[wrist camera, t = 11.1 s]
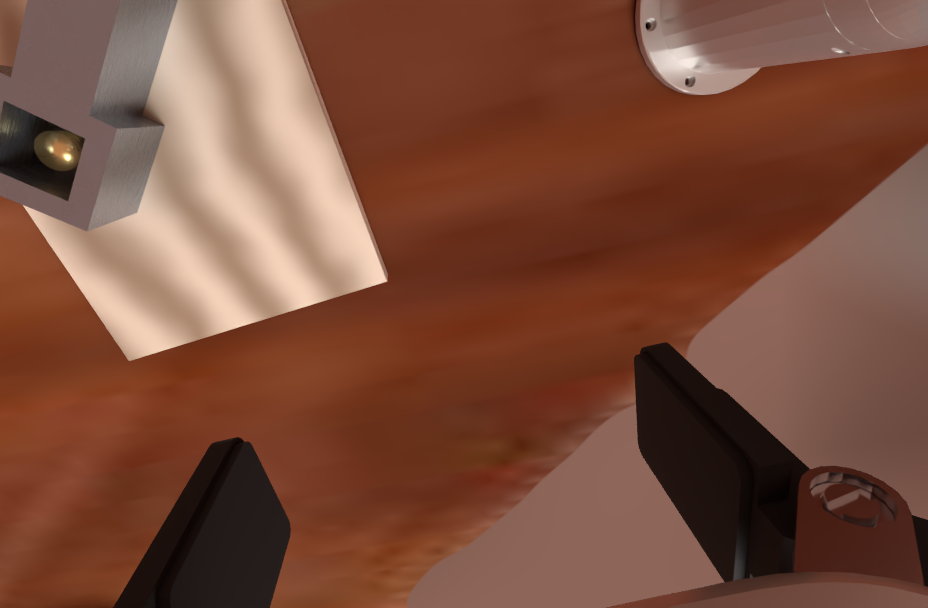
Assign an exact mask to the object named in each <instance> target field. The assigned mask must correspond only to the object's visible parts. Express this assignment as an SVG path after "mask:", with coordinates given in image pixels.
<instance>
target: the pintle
mask: <svg viewBox="0 0 928 608" xmlns="http://www.w3.org/2000/svg"><path fill="white" fill-rule="evenodd" d="M84 141H85V138H83V137H81V136H78V135H76V134H74V133H72V132H70V131H68V130H60V131H46V132H42V133H40V134H39V135H38V136H37V137H36V139H35V141H34V149H35V153H36V155H37V157H38V158H39V159H40V161H41V162H42V163H43V164H45V165H46V166H47V167H49V168H51V169H53V170H57V171H68V170H73V169H77V167H78V163H79V160H80V156H81V152H82V149H83V145H84Z"/></svg>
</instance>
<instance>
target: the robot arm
mask: <svg viewBox="0 0 928 608" xmlns="http://www.w3.org/2000/svg"><path fill="white" fill-rule="evenodd" d="M646 23H647V24H648V29H646ZM635 24H636V36H637V40H638V44H639V48H640V51H641V54H642V56H643V58H644V60H645V63H646V65H647V66H648V67H649V69H650V70H651V72H652V73H653V74H654V76H655V77H656V78H658V79H659V80H660V81H661V82H662V83H663V84H664V85H666V86H668V87H669V88H671V89H673V90H675V91H677V92H681V93H685V94H689V95H707V94H716V93H720V92H723V91H726V90H729V89H732V88H733V87H735V86H737V85H739V84H741V83H743V82H745V81H746V80H747V79H748V78H750V77H751V76H752V75H754V74H755V73H756V72H757V71H758V70H759V69H760V68H761V67H766V66H774V65H782V64H790V63H798V62H805V61H813V60H821V59H829V58H837V57H845V56H853V55H861V54H869V53H877V52H885V51H891V50H899V49H907V48H914V47H920V46H925V45H928V0H637V1H636V11H635ZM685 80H686V84H685ZM634 367H635V389H636V412H637V432H638V445H639V449H640V452H641V454H642V456H643V458H644V459H645V461H646V462H647V464H648V465H649V467H650V469H651V470H652V472H653V473H654V475H655V476H656V478H657V479H658V481H659V482H660V484H661V485H662V487H663V488H664V490H665V491H666V493H667V495H668V496H669V498H670V499H671V501H672V502H673V503H674V505H675V507H676V508H677V510H678V511H679V513H680V514H681V516H682V518H683V519H684V521H685V522H686V524H687V525H688V527H689V528H690V530H691V531H692V533H693V534H694V536H695V537H696V539H697V541H698V542H699V543H700V545H701V547H702V548H703V550H704V551H705V553H706V554H707V556H708V557H709V559H710V560H711V562H712V564H713V565H714V567H715V568H716V570H717V571H718V573H719V574H720V576H721V577H722V579H723V580H724V581H725V583H720V584H715V585H710V586H705V587H700V588H695V589H691V590H685V591H681V592H676V593H671V594H666V595H661V596H657V597H652V598H647V599H643V600H639V601H634V602H629V603H625V604H621V605H616V606H611V607H607V608H928V520H926V519H923V518H920V517H916V516H913V515H912V514H911V511H910V509H909V506H908V504H907V502H906V501H905V500H904V499H903V497H902V496H901V495H900V494H899V493H898V492H897V491H896V490H895V489H893V488H892V487H890V486H889V485H888V484H886V483H885V482H884V481H882V480H880V479H878V478H876V477H874V476H872V475H870V474H868V473H865V472H862V471H858V470H855V469H852V468H847V467H840V466H820V467H816V468H813V469H809V468H808V467H807V466H806V465H805V464H804V463H802V461H801V460H799V459H798V458H797V457H796V456H795V455H794V454H793V453H792V452H791V451H789V449H787V448H786V447H785V446H784V445H783V444H782V443H781V442H780V441H779V440H778V439H777V438H775V437H774V436H773V435H772V434H771V433H770V432H769V431H768V430H767V429H766V428H765V427H763V426H762V425H761V424H760V423H759V422H758V421H757V420H756V419H755V418H754V417H753V416H752V415H750V414H749V413H748V412H747V411H746V410H745V409H744V408H743V407H742V406H741V405H739V404H738V403H737V402H736V401H735V400H734V399H733V398H732V397H730V395H729V394H728V393H726V392H725V391H723V390H722V389H718V388H716V387H715V386H714V385H712V384H711V383H710V382H709V381H708V380H707V379H706V378H705V377H704V376H703V375H702V374H701V373H700V372H698V370H696V369H695V368H694V367H693V366H692V365H691V364H690V363H689V362H688V361H687V360H686V359H685V358H684V357H683V356H682V355H680V354H679V353H678V352H677V351H676V350H675V349H674V348H673V347H672V346H671V345H670V344H668V343H660V344H656V345H651V346H647V347H643V348H642V349H641V351H640V354H639V355H636V356H635V358H634ZM290 531H291V529H290V522H289V519H288V517H287V515H286V513H285V511H284V509H283V507H282V505H281V503H280V501H279V499H278V497H277V495H276V493H275V491H274V489H273V487H272V485H271V483H270V481H269V479H268V477H267V475H266V472H265V470H264V468H263V466H262V464H261V462H260V460H259V458H258V456H257V454H256V452H255V450H254V448H253V446H252V445H251V443H250V442H244V441H243V440H242V439H241V438H238V437H236V438H232V439H227V440H223V441H218V442H215V443H212V444H211V445H210V447H209V448H208V450H207V452H206V453H205V455H204V457H203V458H202V460H201V462H200V463H199V465H198V467H197V468H196V470H195V472H194V473H193V475H192V477H191V478H190V480H189V482H188V483H187V485H186V487H185V488H184V490H183V492H182V493H181V495H180V497H179V498H178V500H177V502H176V503H175V505H174V507H173V508H172V510H171V512H170V514H169V515H168V517H167V519H166V520H165V522H164V524H163V525H162V527H161V529H160V530H159V532H158V534H157V535H156V537H155V539H154V540H153V542H152V544H151V545H150V547H149V549H148V550H147V552H146V554H145V555H144V557H143V559H142V560H141V562H140V564H139V565H138V567H137V569H136V570H135V572H134V574H133V575H132V577H131V579H130V581H129V582H128V584H127V586H126V587H125V589H124V591H123V592H122V594H121V596H120V597H119V599H118V601H117V602H116V604H115V606H114V607H113V608H270V605H271V601H272V598H273V594H274V591H275V587H276V584H277V580H278V577H279V573H280V570H281V566H282V563H283V559H284V556H285V552H286V549H287V545H288V542H289V538H290Z"/></svg>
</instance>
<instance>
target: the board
mask: <svg viewBox="0 0 928 608" xmlns="http://www.w3.org/2000/svg"><path fill="white" fill-rule="evenodd" d="M26 4H27V0H0V65H3V66H12V67H13V65H14V61H15V56H16V51H17V47H18V42H19V37H20V33H21V28H22V23H23V18H24V14H25V9H26ZM143 115H144V116H146V117H148V118H150V119H152V120H154V121H156V122H158V123H160V124H162V125H164V126H165V128H164V131H163V134H162V137H161V141H160V144H159V147H158V150H157V153H156V156H155V159H154V162H153V165H152V168H151V172H150V175H149V178H148V181H147V184H146V187H145V190H144V193H143V196H142V200H141V203H140V206H139V209H138V212H137V213H135V214H132V215H130V216H127V217H125V218H122V219H119V220H117V221H114V222H111V223H109V224H106V225H103V226H101V227H98V228H95V229H93V230H90V231H85V230H82V229H80V228H77V227H75V226H72V225H70V224H68V223H65V222H63V221H60V220H58V219H56V218H53V217H51V216H48V215H46V214H43V213H41V212H39V211H36V210H34V209H31V208H29V207H27V206H24V205H23V206H24V207H25V209H26V210H27V212H28V213H29V215H30V216H31V218H32V219H33V221H34V222H35V224H36V225H37V227H38V228H39V229H40V231H41V232H42V234H43V235H44V237H45V238H46V240H47V241H48V243H49V244H50V246H51V247H52V249H53V250H54V251H55V253H56V254H57V256H58V257H59V259H60V260H61V262H62V263H63V265H64V266H65V268H66V269H67V271H68V272H69V273H70V275H71V276H72V278H73V279H74V281H75V282H76V284H77V285H78V287H79V288H80V290H81V291H82V293H83V294H84V295H85V297H86V298H87V300H88V301H89V303H90V304H91V306H92V307H93V309H94V310H95V312H96V313H97V315H98V316H99V317H100V319H101V320H102V322H103V323H104V325H105V326H106V328H107V329H108V331H109V332H110V334H111V335H112V337H113V338H114V339H115V341H116V342H117V344H118V345H119V347H120V348H121V350H122V351H123V353H124V354H125V356H126V357H127V359H128V360H129V361H131V360H134V359H137V358H140V357H144V356H147V355H150V354H153V353H157V352H160V351H163V350H166V349H169V348H173V347H176V346H179V345H182V344H186V343H189V342H192V341H195V340H199V339H202V338H205V337H208V336H212V335H215V334H218V333H221V332H225V331H228V330H231V329H234V328H238V327H241V326H244V325H247V324H250V323H254V322H257V321H260V320H263V319H267V318H270V317H273V316H276V315H280V314H283V313H286V312H289V311H293V310H296V309H299V308H302V307H306V306H309V305H312V304H315V303H318V302H322V301H325V300H328V299H331V298H335V297H338V296H341V295H344V294H348V293H351V292H354V291H357V290H361V289H364V288H367V287H370V286H374V285H377V284H380V283H383V282H386V281H387V275H388V273H387V271H386V268H385V265H384V263H383V260H382V257H381V255H380V252H379V249H378V247H377V244H376V241H375V239H374V236H373V233H372V231H371V228H370V225H369V223H368V220H367V217H366V214H365V212H364V209H363V206H362V204H361V201H360V198H359V196H358V193H357V190H356V188H355V185H354V182H353V180H352V177H351V174H350V172H349V169H348V166H347V164H346V161H345V158H344V156H343V153H342V150H341V147H340V145H339V142H338V139H337V137H336V134H335V131H334V129H333V126H332V123H331V121H330V118H329V115H328V113H327V110H326V107H325V105H324V102H323V99H322V97H321V94H320V91H319V88H318V86H317V83H316V80H315V78H314V75H313V72H312V70H311V67H310V64H309V62H308V59H307V56H306V54H305V51H304V48H303V46H302V43H301V40H300V38H299V35H298V32H297V30H296V27H295V24H294V21H293V19H292V16H291V13H290V11H289V8H288V5H287V3H286V0H178V1H177V4H176V8H175V11H174V14H173V18H172V21H171V24H170V27H169V31H168V34H167V37H166V40H165V44H164V47H163V50H162V54H161V57H160V60H159V63H158V67H157V70H156V73H155V77H154V80H153V83H152V86H151V90H150V93H149V96H148V99H147V103H146V106H145V109H144V113H143Z"/></svg>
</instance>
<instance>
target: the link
mask: <svg viewBox="0 0 928 608" xmlns="http://www.w3.org/2000/svg"><path fill="white" fill-rule="evenodd" d="M177 1H178V0H27V4H26V9H25V14H24V18H23V23H22V28H21V33H20V37H19V42H18V47H17V51H16V56H15V61H14V65H13V67H12V66H3V65H0V196H2V197H5V198H7V199H10V200H12V201H15V202H17V203H19V204H22V205H24V206H27V207H29V208H31V209H34V210H36V211H39V212H41V213H43V214H46V215H48V216H51V217H53V218H56V219H58V220H60V221H63V222H65V223H68V224H70V225H72V226H75V227H77V228H80V229H82V230H85V231H90V230H93V229H95V228H98V227H101V226H103V225H106V224H109V223H111V222H114V221H117V220H119V219H122V218H125V217H127V216H130V215H132V214H135V213H137V212H138V209H139V206H140V203H141V200H142V196H143V193H144V190H145V187H146V184H147V181H148V178H149V175H150V172H151V168H152V165H153V162H154V159H155V156H156V153H157V150H158V147H159V144H160V141H161V137H162V134H163V131H164V128H165V126H164V125H162V124H160V123H158V122H156V121H154V120H152V119H150V118H148V117H146V116H144V115H143V113H144V109H145V106H146V103H147V99H148V96H149V93H150V90H151V86H152V83H153V80H154V77H155V73H156V70H157V67H158V63H159V60H160V57H161V54H162V50H163V47H164V44H165V40H166V37H167V34H168V31H169V27H170V24H171V21H172V18H173V14H174V11H175V8H176V4H177ZM60 130H68V131H70V132H72V133H74V134H76V135H78V136H81V137H83V138H85V141H84V145H83V149H82V152H81V156H80V160H79V163H78V167H77V169H73V170H68V171H57V170H53V169H51V168H49V167H47V166H46V165H45V164H43V163H42V162H41V161H40V159H39V158H38V157H37V155H36V153H35V149H34V141H35V139H36V137H37V136H38V135H39V134H40V133H42V132H46V131H60Z"/></svg>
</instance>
